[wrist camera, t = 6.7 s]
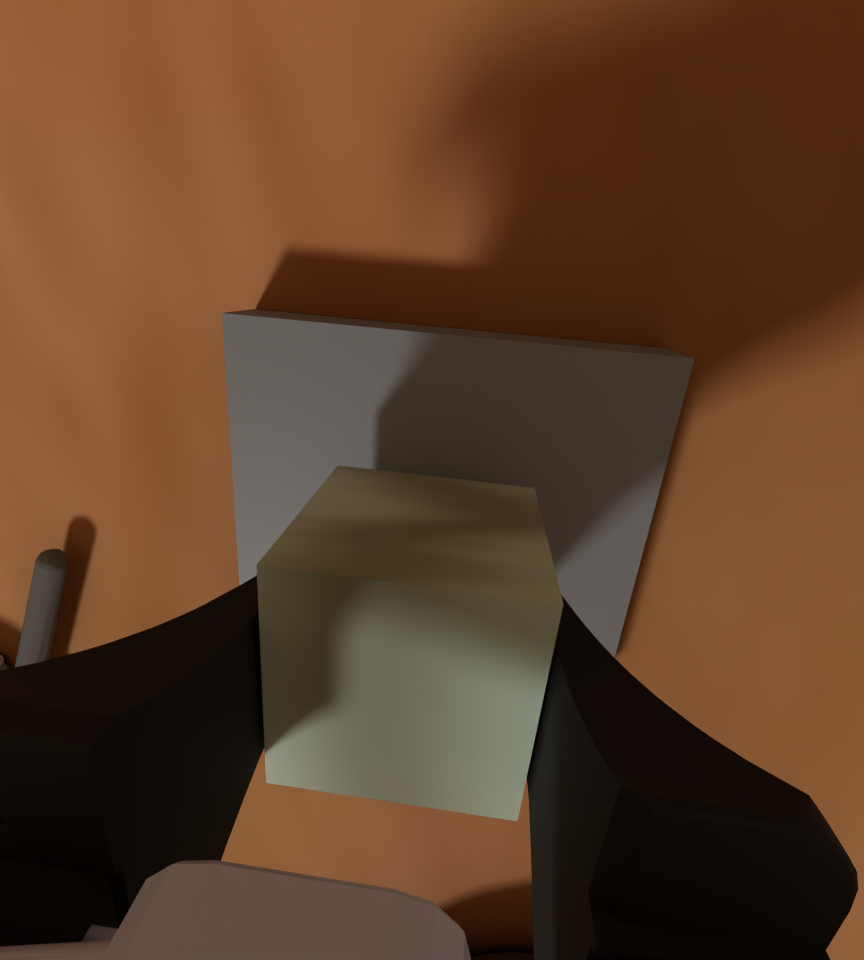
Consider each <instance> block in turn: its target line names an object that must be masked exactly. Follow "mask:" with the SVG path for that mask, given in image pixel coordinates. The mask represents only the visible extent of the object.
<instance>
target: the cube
mask: <svg viewBox="0 0 864 960" xmlns="http://www.w3.org/2000/svg"><path fill="white" fill-rule="evenodd" d="M257 587H258V609H259V632H260V655H261V677H262V700H263V723H264V745H265V768H266V783H271V784H278V785H285V786H291V787H298V788H304V789H311V790H317V791H324V792H330V793H337V794H343V795H350V796H356V797H363V798H369V799H376V800H382V801H389V802H395V803H402V804H408V805H415V806H421V807H428V808H434V809H441V810H447V811H454V812H460V813H467V814H473V815H480V816H487V817H493V818H500V819H506V820H513V821H517V820H518V816H519V811H520V806H521V802H522V797H523V792H524V787H525V783H526V778H527V773H528V769H529V764H530V759H531V754H532V750H533V745H534V740H535V736H536V731H537V726H538V721H539V717H540V712H541V707H542V703H543V698H544V693H545V688H546V684H547V679H548V674H549V670H550V665H551V660H552V655H553V651H554V646H555V641H556V637H557V632H558V627H559V622H560V618H561V613H562V608H563V600H562V596H561V592H560V588H559V584H558V580H557V576H556V572H555V568H554V564H553V560H552V556H551V552H550V548H549V544H548V540H547V535H546V531H545V527H544V523H543V519H542V515H541V511H540V507H539V503H538V499H537V495H536V491H535V488H531V487H523V486H514V485H505V484H497V483H488V482H479V481H471V480H462V479H453V478H444V477H436V476H427V475H418V474H410V473H401V472H392V471H384V470H375V469H366V468H357V467H349V466H340V465H338V466H337V467H336V468H335V469H334V471H333V472H332V473H331V474H330V476H329V477H328V478H327V479H326V480H325V482H324V483H323V484H322V485H321V487H320V488H319V489H318V490H317V491H316V493H315V494H314V495H313V496H312V498H311V499H310V500H309V501H308V503H307V504H306V505H305V506H304V507H303V509H302V510H301V511H300V512H299V514H298V515H297V516H296V517H295V518H294V520H293V521H292V522H291V523H290V525H289V526H288V527H287V528H286V529H285V531H284V532H283V533H282V534H281V536H280V537H279V538H278V539H277V540H276V542H275V543H274V544H273V545H272V547H271V548H270V549H269V550H268V551H267V553H266V554H265V555H264V556H263V558H262V559H261V560H260V561H259V562H258V564H257Z"/></svg>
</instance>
